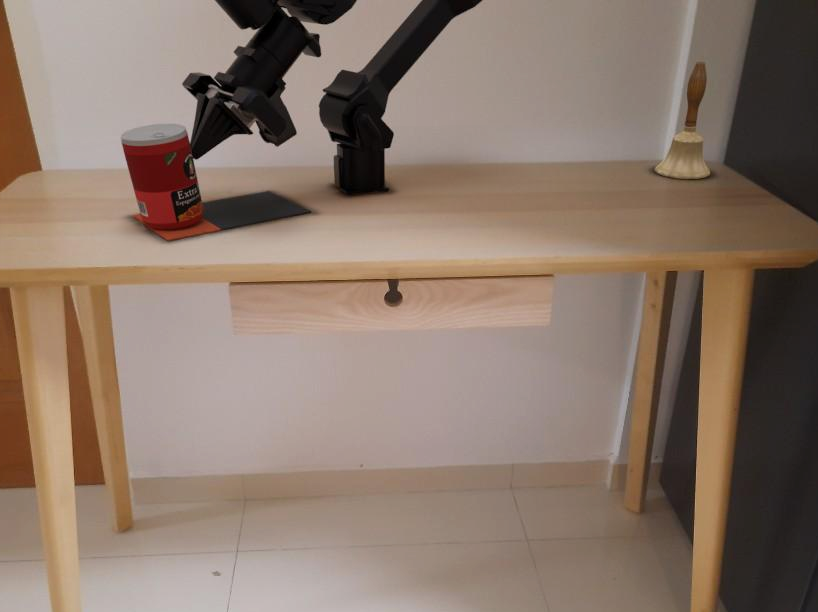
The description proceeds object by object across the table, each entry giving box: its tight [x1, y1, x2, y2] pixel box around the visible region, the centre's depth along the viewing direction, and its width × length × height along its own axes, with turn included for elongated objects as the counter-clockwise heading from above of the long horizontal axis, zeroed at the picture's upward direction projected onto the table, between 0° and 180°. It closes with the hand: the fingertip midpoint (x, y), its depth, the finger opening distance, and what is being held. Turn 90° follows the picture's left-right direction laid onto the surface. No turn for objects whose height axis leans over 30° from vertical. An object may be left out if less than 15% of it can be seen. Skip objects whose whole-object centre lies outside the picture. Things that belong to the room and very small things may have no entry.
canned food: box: [120, 123, 203, 230], centre depth 96 cm, size 8×8×11 cm
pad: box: [132, 213, 222, 242], centre depth 99 cm, size 7×12×1 cm, turn 36°
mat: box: [202, 190, 312, 231], centre depth 104 cm, size 13×12×1 cm
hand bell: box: [654, 61, 711, 180], centre depth 117 cm, size 8×8×16 cm
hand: (192, 157), depth 97 cm, fingers closed, pressing on canned food
